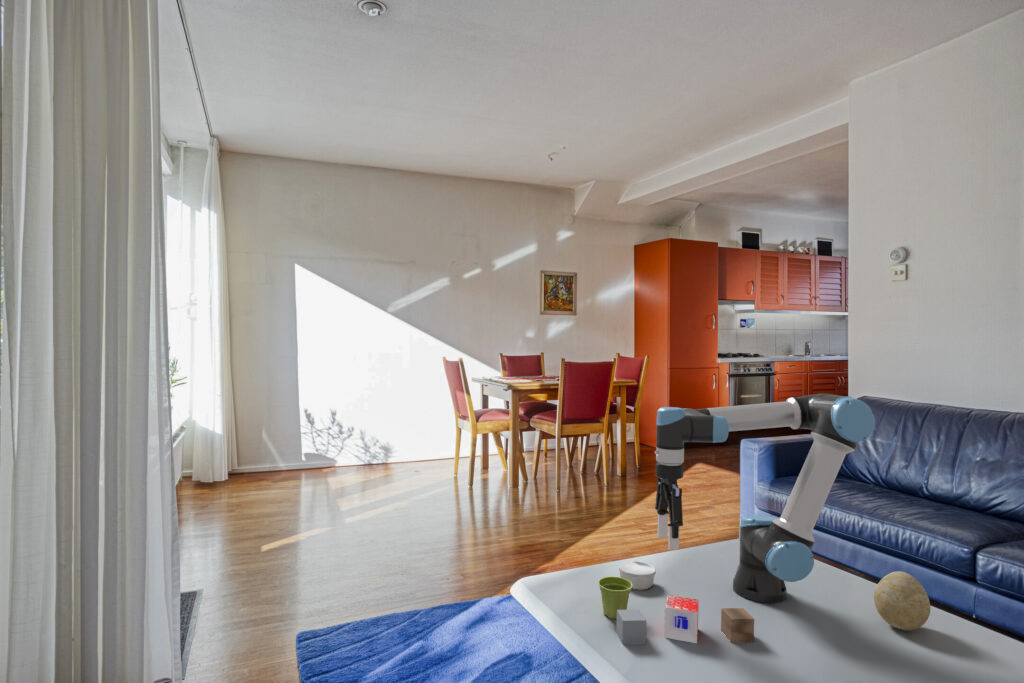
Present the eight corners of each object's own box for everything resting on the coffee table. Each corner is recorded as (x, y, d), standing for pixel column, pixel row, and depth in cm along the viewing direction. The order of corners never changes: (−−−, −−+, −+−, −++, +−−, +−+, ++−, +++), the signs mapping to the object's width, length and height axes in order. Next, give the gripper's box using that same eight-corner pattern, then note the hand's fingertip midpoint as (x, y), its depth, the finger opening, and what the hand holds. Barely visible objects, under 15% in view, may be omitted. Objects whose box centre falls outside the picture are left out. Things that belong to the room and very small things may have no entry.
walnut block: (742, 630, 158) (743, 608, 158) (753, 642, 152) (754, 618, 152) (720, 630, 158) (721, 608, 157) (730, 642, 152) (731, 619, 152)
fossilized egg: (880, 612, 170) (882, 559, 170) (934, 628, 161) (935, 573, 161) (867, 626, 161) (868, 571, 161) (923, 645, 152) (925, 586, 152)
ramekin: (660, 582, 188) (660, 565, 188) (648, 595, 179) (648, 577, 179) (626, 574, 194) (626, 558, 194) (613, 586, 185) (613, 569, 185)
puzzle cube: (698, 629, 158) (698, 599, 158) (697, 643, 151) (697, 612, 151) (666, 624, 161) (667, 594, 161) (664, 637, 153) (665, 607, 153)
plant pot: (631, 624, 160) (632, 592, 160) (596, 620, 162) (597, 588, 162) (631, 608, 169) (632, 578, 169) (598, 605, 171) (599, 575, 171)
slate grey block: (639, 632, 156) (639, 609, 156) (645, 644, 150) (646, 620, 150) (616, 632, 156) (616, 609, 155) (622, 644, 150) (622, 620, 149)
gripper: (645, 455, 178) (643, 530, 178) (669, 471, 156) (667, 557, 157) (669, 455, 178) (668, 530, 179) (697, 471, 157) (695, 557, 157)
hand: (667, 543), depth 168 cm, fingers open, 9 cm apart
